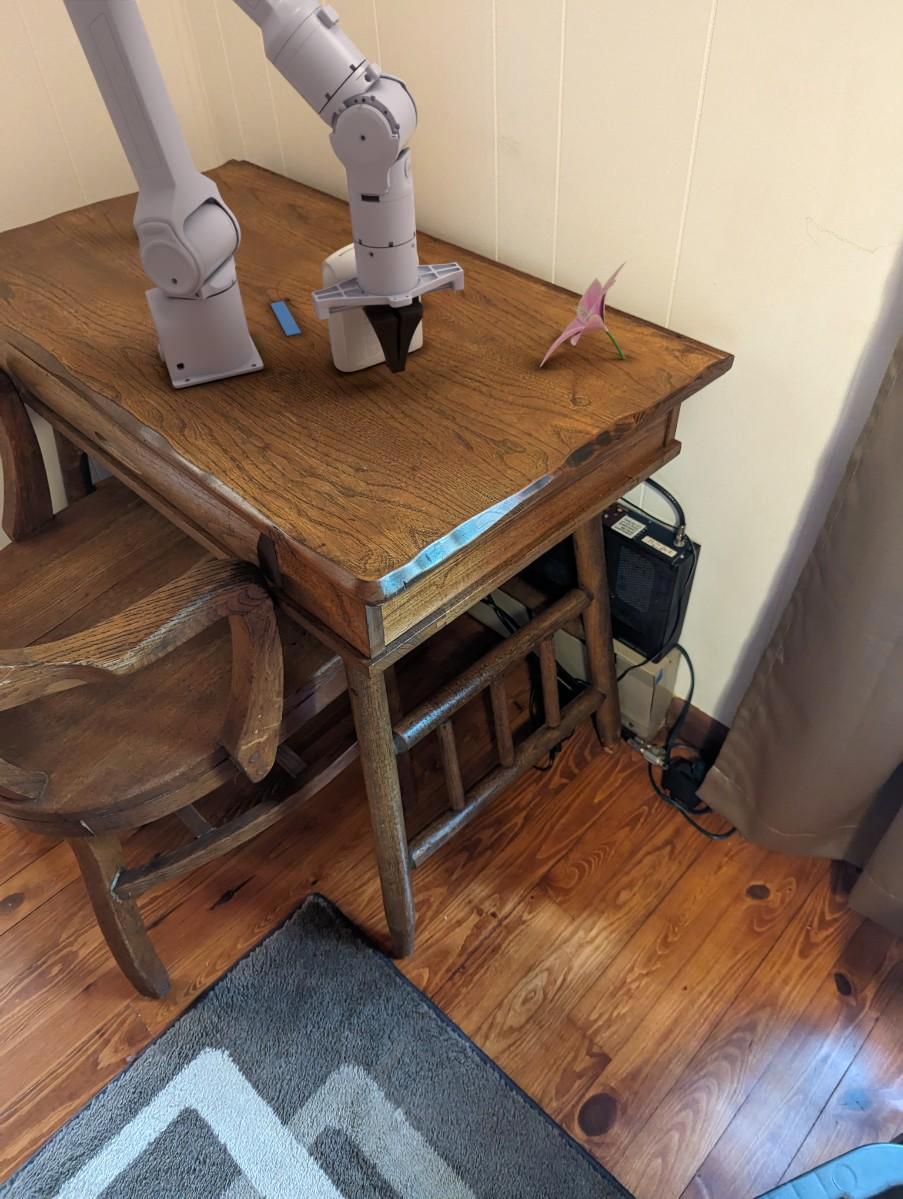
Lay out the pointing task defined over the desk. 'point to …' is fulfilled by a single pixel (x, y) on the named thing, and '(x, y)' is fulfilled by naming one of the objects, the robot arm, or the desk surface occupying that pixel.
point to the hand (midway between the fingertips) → (395, 367)
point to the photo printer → (354, 320)
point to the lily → (589, 314)
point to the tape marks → (285, 318)
